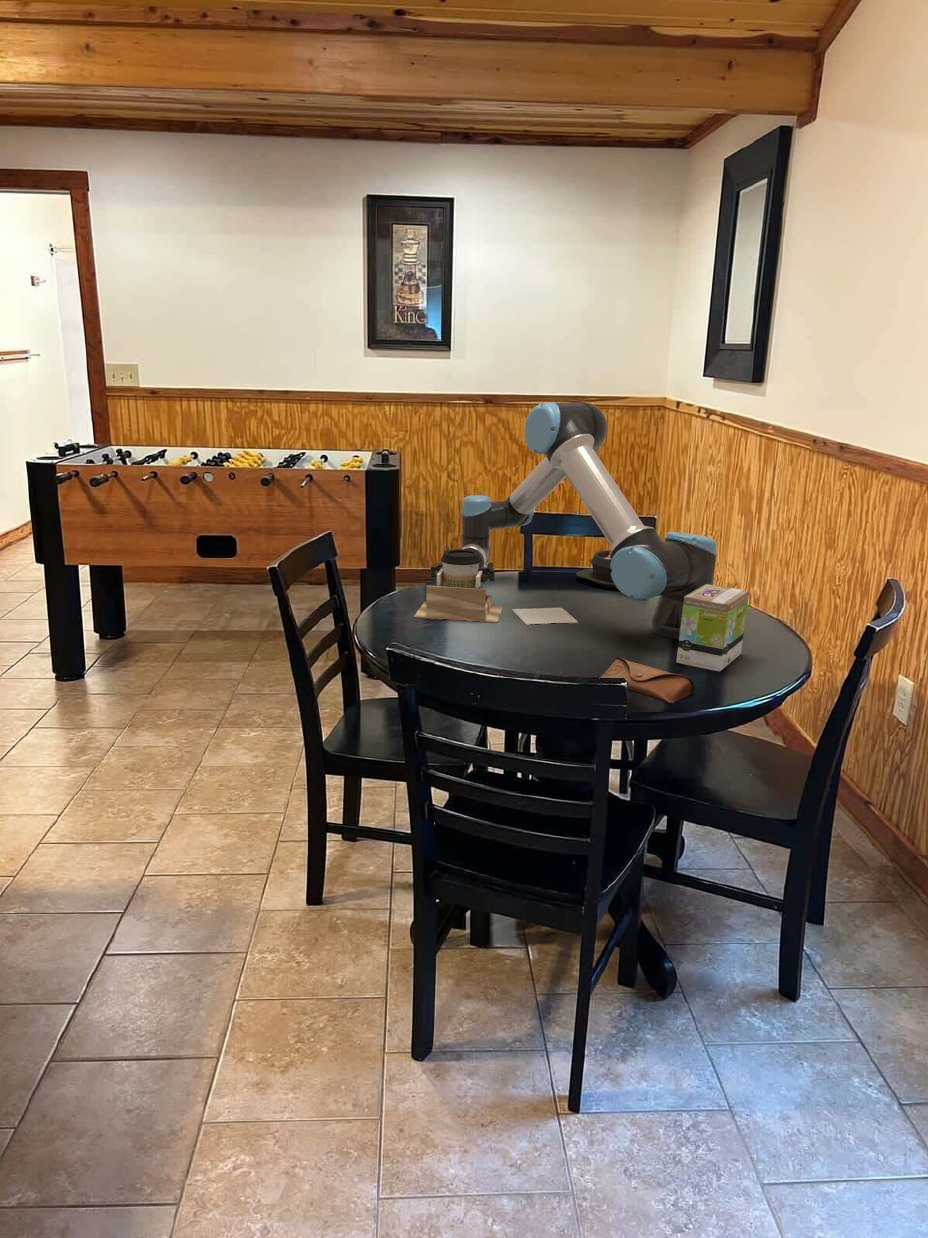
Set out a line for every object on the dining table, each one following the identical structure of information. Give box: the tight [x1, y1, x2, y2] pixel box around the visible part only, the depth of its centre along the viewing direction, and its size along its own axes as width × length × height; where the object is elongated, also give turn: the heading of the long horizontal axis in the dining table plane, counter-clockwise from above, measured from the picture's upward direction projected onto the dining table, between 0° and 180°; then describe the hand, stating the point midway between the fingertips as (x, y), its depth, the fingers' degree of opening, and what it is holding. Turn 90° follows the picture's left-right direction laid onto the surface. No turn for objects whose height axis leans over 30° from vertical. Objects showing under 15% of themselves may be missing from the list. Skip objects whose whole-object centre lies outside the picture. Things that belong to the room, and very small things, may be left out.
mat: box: [511, 607, 579, 626], centre depth 226 cm, size 13×13×1 cm
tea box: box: [675, 584, 750, 672], centre depth 195 cm, size 15×10×15 cm
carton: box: [413, 585, 504, 624], centre depth 228 cm, size 17×20×8 cm
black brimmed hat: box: [575, 549, 618, 589], centre depth 259 cm, size 25×19×8 cm
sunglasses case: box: [599, 656, 695, 704], centre depth 180 cm, size 18×7×7 cm
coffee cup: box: [440, 548, 481, 589], centre depth 225 cm, size 10×10×15 cm
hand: (457, 581), depth 221 cm, fingers closed on coffee cup, 9 cm apart
